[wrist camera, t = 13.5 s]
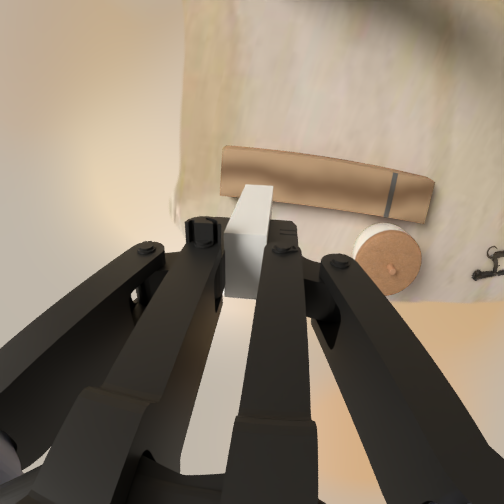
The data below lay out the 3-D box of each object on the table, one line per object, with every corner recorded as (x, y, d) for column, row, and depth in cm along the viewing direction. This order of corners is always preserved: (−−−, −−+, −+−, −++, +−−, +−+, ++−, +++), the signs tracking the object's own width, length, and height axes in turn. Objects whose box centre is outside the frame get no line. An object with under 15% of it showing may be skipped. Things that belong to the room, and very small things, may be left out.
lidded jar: (352, 209, 46) (365, 233, 38) (411, 217, 46) (434, 241, 37) (340, 268, 51) (350, 300, 43) (396, 272, 51) (413, 304, 42)
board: (226, 145, 44) (222, 148, 41) (427, 177, 42) (435, 182, 39) (223, 189, 47) (219, 195, 44) (417, 217, 45) (424, 224, 43)
